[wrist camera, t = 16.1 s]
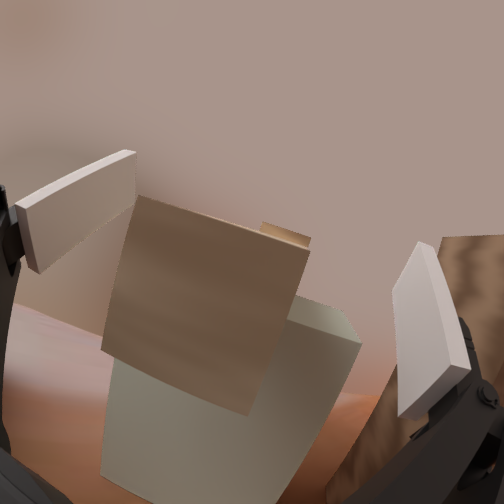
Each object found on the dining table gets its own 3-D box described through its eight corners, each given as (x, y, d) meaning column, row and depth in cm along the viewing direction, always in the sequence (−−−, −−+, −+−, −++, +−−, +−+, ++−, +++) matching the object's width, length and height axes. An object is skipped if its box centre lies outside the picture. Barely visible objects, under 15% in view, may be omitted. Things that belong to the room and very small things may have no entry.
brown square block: (254, 265, 37) (268, 224, 36) (295, 279, 36) (309, 238, 36) (86, 341, 7) (135, 149, 7) (268, 423, 6) (349, 211, 6)
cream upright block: (141, 430, 28) (186, 256, 27) (263, 478, 27) (342, 310, 25) (100, 475, 20) (135, 261, 18) (250, 538, 18) (362, 343, 16)
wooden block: (325, 486, 27) (442, 237, 25) (398, 496, 25) (513, 270, 23) (327, 581, 13) (541, 233, 11) (421, 577, 12) (609, 284, 10)
